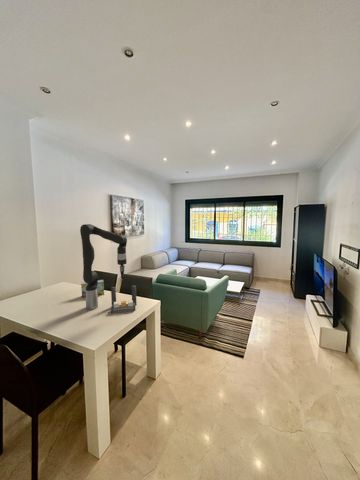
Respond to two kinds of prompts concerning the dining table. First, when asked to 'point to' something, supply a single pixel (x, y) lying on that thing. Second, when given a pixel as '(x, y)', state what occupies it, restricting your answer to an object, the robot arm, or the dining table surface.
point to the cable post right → (134, 294)
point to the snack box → (99, 288)
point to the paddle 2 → (130, 303)
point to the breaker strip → (123, 308)
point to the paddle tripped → (123, 303)
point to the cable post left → (113, 295)
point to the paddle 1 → (116, 304)
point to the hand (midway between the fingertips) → (122, 278)
